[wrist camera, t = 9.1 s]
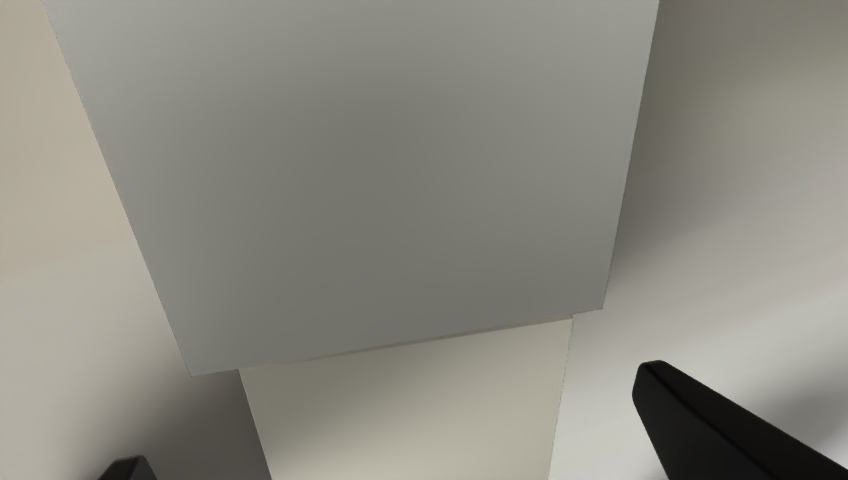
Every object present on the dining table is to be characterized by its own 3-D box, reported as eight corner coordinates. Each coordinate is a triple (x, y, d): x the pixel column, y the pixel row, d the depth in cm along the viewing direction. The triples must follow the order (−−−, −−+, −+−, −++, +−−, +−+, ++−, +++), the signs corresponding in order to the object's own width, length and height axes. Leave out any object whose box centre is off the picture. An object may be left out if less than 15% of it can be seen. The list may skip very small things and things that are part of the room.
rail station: (484, 436, 22) (578, 702, 14) (294, 473, 21) (287, 784, 13) (509, -273, 10) (1058, -815, 3) (81, -276, 9) (-963, -1210, 2)
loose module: (471, 318, 16) (550, 503, 11) (299, 344, 15) (296, 558, 10) (475, 166, 13) (582, 316, 8) (266, 188, 12) (238, 372, 7)
